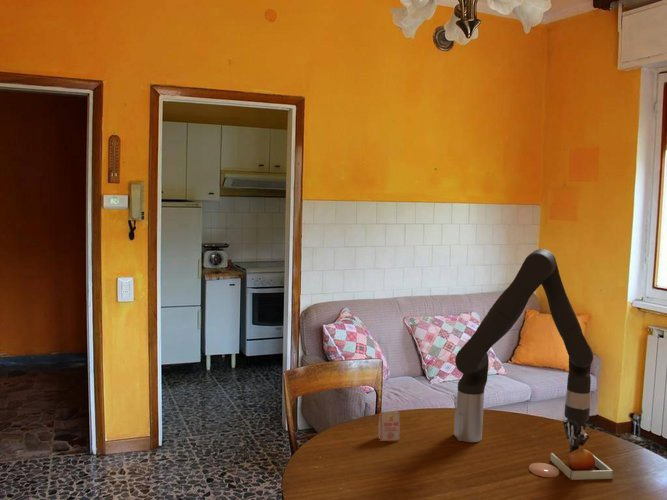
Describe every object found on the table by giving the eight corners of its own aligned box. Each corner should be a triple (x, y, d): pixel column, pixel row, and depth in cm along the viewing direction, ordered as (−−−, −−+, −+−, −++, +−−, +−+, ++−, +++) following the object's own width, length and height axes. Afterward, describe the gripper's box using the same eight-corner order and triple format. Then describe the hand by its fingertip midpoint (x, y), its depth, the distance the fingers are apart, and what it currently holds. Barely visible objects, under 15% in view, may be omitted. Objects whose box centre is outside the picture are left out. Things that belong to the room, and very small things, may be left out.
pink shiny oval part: (536, 477, 190) (536, 476, 190) (524, 464, 199) (524, 463, 199) (564, 477, 191) (564, 475, 191) (550, 464, 200) (551, 462, 200)
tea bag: (378, 437, 218) (378, 410, 217) (396, 436, 219) (397, 409, 218) (380, 441, 214) (381, 413, 213) (399, 441, 215) (400, 413, 214)
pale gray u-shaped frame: (570, 479, 189) (571, 471, 189) (550, 460, 203) (550, 453, 203) (612, 478, 191) (613, 470, 191) (589, 459, 204) (590, 452, 204)
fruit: (602, 474, 190) (589, 451, 191) (578, 484, 192) (565, 461, 193) (599, 464, 198) (586, 441, 198) (575, 473, 200) (563, 450, 201)
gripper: (556, 397, 206) (553, 447, 208) (576, 411, 193) (573, 464, 195) (578, 396, 207) (574, 446, 208) (599, 411, 194) (595, 464, 195)
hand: (573, 455), depth 201 cm, fingers closed
